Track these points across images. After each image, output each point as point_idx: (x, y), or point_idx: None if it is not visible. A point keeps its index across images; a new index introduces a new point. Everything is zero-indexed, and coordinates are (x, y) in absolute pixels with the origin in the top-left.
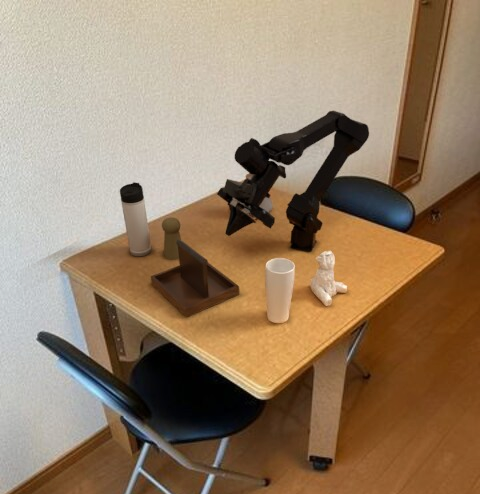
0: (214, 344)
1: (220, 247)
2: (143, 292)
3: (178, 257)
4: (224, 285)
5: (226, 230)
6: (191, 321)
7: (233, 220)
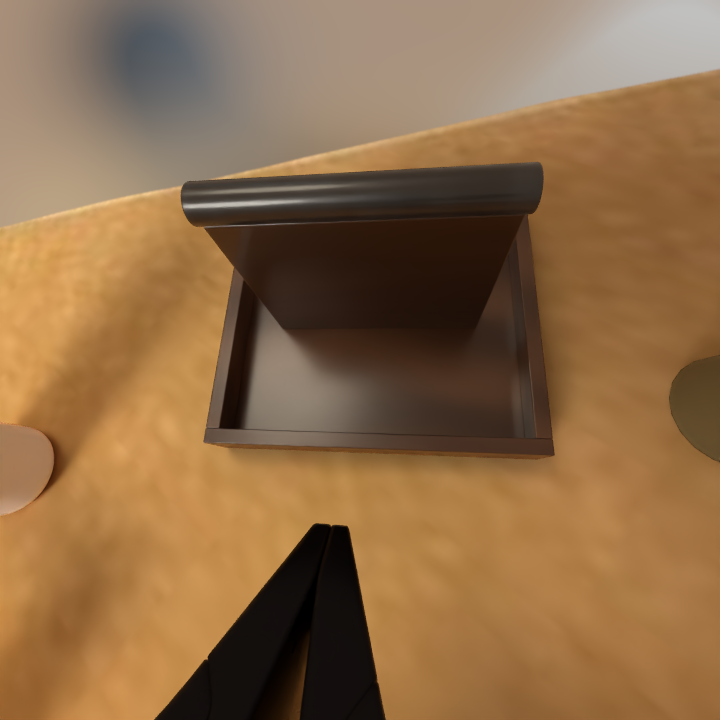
0: (109, 233)
1: (679, 691)
2: None
3: (674, 402)
4: (299, 424)
5: (340, 550)
6: None
7: (238, 717)
